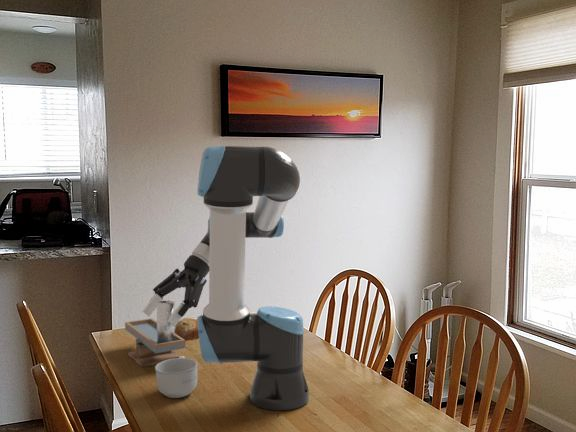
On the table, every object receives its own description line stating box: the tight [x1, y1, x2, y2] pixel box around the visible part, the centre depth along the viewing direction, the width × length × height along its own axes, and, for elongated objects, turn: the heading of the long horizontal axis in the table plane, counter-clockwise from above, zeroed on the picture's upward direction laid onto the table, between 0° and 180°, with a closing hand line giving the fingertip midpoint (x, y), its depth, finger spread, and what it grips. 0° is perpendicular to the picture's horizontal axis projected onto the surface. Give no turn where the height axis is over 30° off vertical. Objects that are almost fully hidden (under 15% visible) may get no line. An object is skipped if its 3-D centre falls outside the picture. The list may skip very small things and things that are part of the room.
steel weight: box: [156, 300, 175, 344], centre depth 175 cm, size 5×5×12 cm
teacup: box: [154, 355, 198, 399], centre depth 159 cm, size 14×11×8 cm
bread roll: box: [175, 317, 199, 341], centre depth 207 cm, size 10×10×8 cm
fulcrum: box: [127, 342, 181, 368], centre depth 184 cm, size 12×12×5 cm
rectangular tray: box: [124, 317, 186, 353], centre depth 184 cm, size 26×11×3 cm, turn 34°
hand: (158, 319), depth 174 cm, fingers open, 13 cm apart
